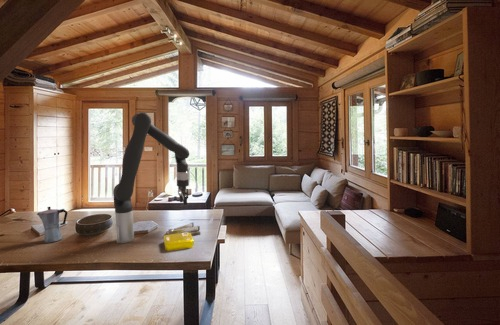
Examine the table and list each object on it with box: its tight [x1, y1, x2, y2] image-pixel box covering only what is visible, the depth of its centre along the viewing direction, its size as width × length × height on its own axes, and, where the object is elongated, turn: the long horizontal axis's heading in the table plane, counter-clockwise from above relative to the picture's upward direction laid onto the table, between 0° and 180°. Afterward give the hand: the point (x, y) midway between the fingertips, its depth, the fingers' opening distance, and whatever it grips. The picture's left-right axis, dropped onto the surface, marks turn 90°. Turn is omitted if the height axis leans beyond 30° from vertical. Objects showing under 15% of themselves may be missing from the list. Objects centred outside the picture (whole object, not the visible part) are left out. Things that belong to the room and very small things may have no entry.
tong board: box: [165, 230, 201, 237], centre depth 173 cm, size 18×12×2 cm, turn 120°
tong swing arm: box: [173, 222, 195, 230], centre depth 176 cm, size 15×2×2 cm, turn 142°
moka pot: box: [36, 206, 68, 244], centre depth 163 cm, size 10×15×20 cm, turn 111°
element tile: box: [163, 232, 195, 252], centre depth 156 cm, size 15×15×5 cm
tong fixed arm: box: [168, 225, 200, 234], centre depth 172 cm, size 19×4×3 cm, turn 120°
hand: (183, 203), depth 182 cm, fingers open, 8 cm apart
